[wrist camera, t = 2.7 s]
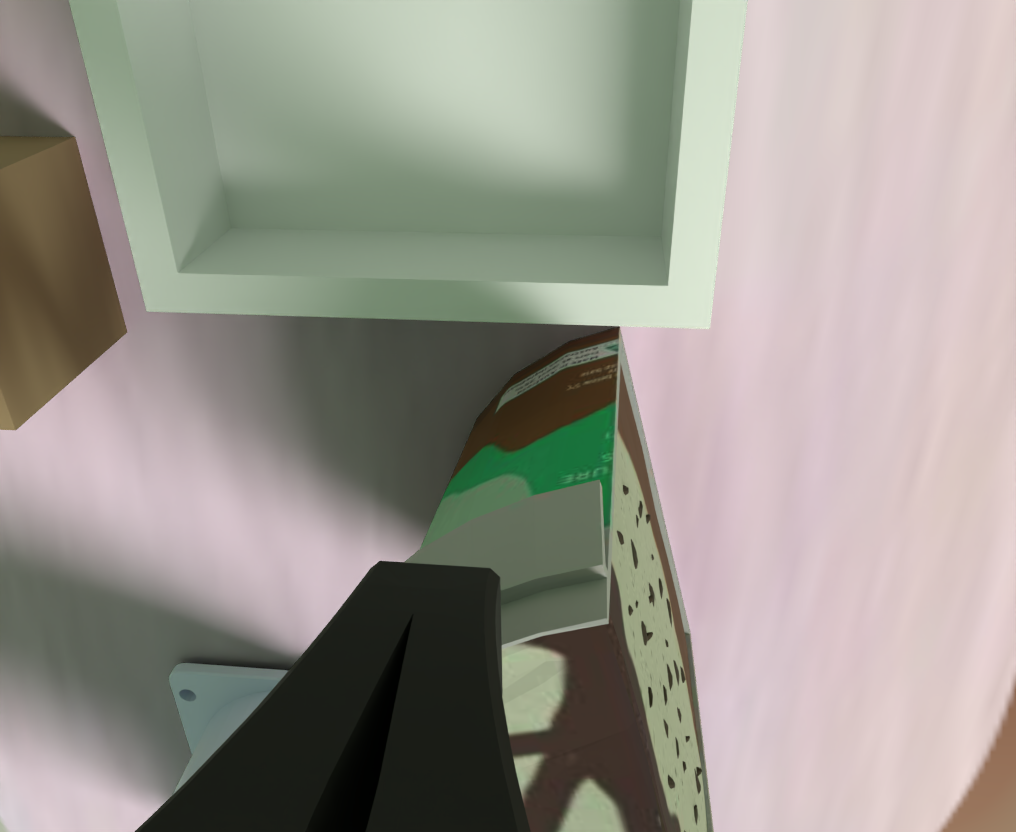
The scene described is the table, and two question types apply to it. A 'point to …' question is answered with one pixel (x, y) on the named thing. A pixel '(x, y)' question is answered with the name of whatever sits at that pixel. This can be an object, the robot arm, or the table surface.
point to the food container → (581, 597)
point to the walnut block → (49, 275)
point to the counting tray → (420, 155)
